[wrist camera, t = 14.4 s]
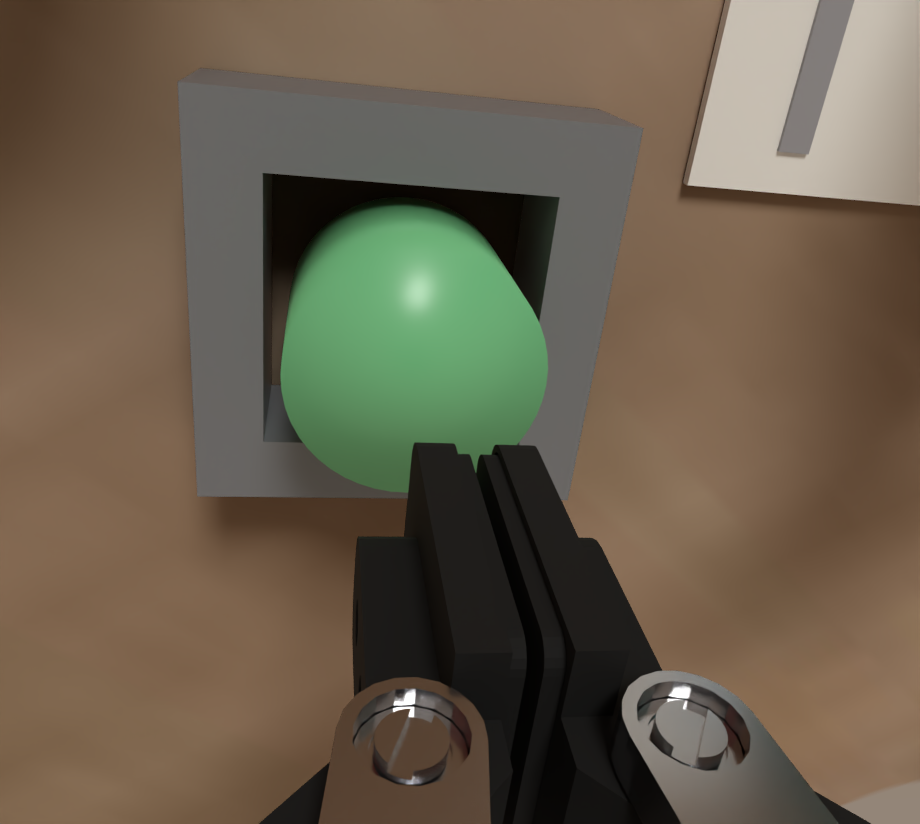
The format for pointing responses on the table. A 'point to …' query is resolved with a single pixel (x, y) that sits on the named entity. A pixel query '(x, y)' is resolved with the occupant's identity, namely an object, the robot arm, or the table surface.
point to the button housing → (399, 162)
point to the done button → (407, 342)
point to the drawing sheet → (813, 101)
